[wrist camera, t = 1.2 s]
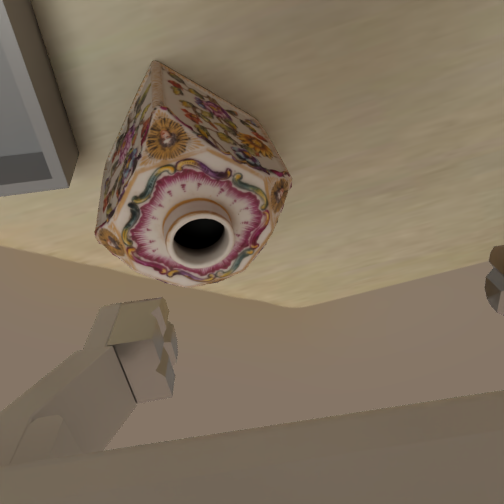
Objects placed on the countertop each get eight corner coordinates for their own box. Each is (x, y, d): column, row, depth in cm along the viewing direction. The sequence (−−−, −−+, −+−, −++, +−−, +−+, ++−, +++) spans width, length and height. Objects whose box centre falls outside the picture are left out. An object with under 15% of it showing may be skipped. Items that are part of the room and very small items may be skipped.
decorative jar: (152, 54, 36) (158, 128, 22) (260, 117, 42) (319, 208, 28) (102, 165, 41) (80, 282, 27) (204, 208, 47) (229, 324, 33)
